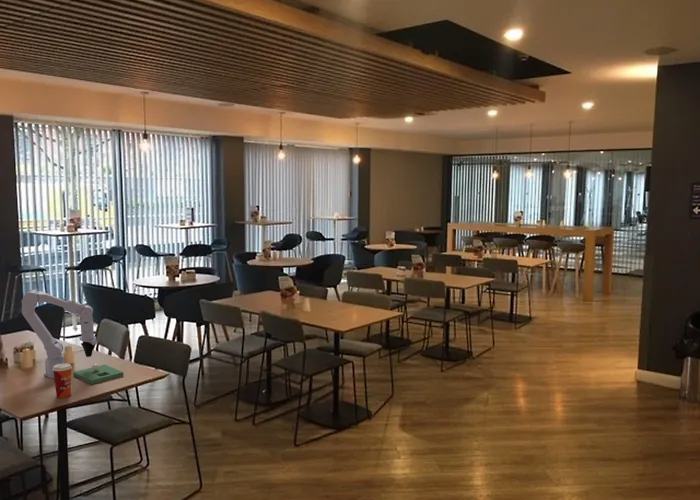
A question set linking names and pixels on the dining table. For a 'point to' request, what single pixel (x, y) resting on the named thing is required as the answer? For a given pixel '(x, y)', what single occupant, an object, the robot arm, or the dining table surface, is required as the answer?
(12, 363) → the dining table surface
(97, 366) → the ball
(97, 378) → the putting deck
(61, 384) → the paper cup
